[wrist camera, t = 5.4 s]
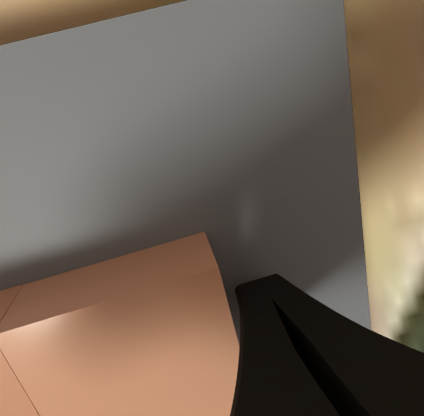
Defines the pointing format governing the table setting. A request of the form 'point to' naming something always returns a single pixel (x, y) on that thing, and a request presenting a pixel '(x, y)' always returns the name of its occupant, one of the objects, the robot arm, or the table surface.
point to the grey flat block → (187, 146)
